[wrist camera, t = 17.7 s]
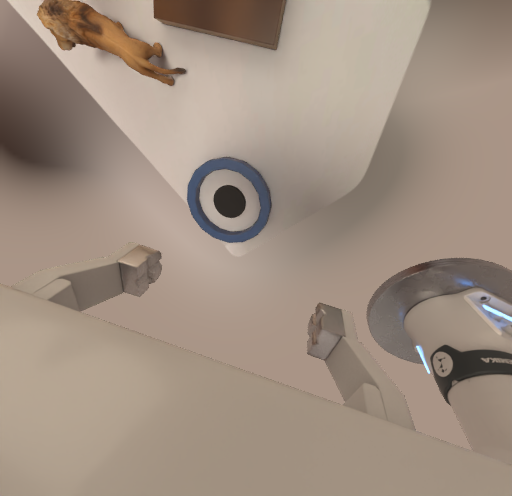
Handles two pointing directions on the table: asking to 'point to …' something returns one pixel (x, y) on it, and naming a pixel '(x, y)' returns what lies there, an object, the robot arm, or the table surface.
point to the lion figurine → (100, 36)
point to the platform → (226, 18)
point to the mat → (229, 201)
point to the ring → (246, 172)
